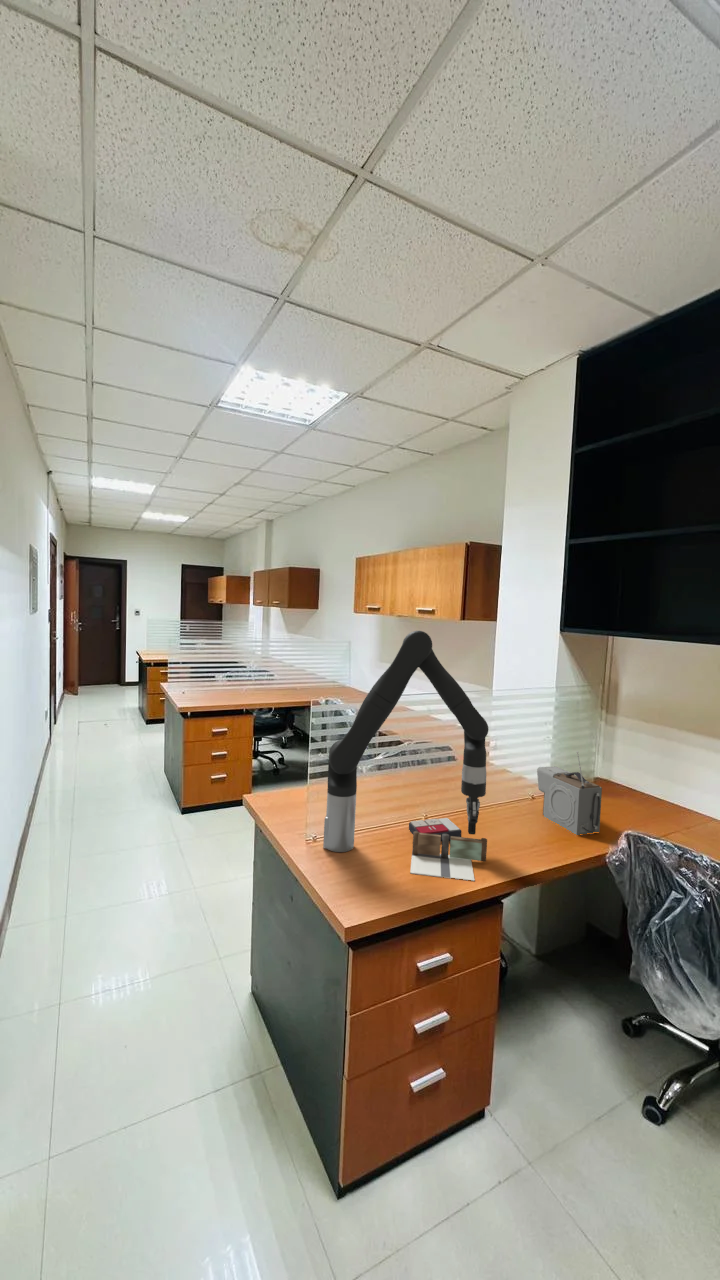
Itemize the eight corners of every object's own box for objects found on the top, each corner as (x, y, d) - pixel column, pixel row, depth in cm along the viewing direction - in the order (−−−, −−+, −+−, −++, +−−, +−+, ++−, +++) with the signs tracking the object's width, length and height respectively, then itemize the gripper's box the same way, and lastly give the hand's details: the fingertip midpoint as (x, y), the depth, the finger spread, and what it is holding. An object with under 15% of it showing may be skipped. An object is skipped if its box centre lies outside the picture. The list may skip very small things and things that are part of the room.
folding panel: (449, 857, 147) (450, 836, 146) (449, 855, 148) (450, 834, 148) (486, 861, 145) (487, 840, 145) (485, 859, 147) (486, 838, 147)
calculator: (408, 820, 168) (447, 815, 172) (408, 832, 168) (447, 827, 172) (420, 833, 157) (462, 828, 161) (420, 846, 158) (461, 841, 161)
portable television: (555, 810, 195) (560, 736, 194) (602, 834, 172) (607, 751, 172) (531, 812, 191) (535, 737, 190) (575, 837, 168) (580, 752, 168)
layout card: (410, 873, 137) (410, 872, 137) (412, 851, 151) (412, 850, 151) (474, 881, 135) (474, 880, 135) (470, 858, 148) (470, 857, 148)
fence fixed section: (412, 856, 148) (413, 833, 148) (412, 852, 150) (413, 830, 150) (448, 860, 146) (449, 836, 146) (448, 857, 149) (449, 834, 148)
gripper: (460, 771, 158) (458, 824, 159) (463, 784, 145) (460, 841, 145) (483, 773, 157) (481, 826, 157) (488, 786, 144) (486, 843, 144)
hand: (471, 833), depth 151 cm, fingers closed
